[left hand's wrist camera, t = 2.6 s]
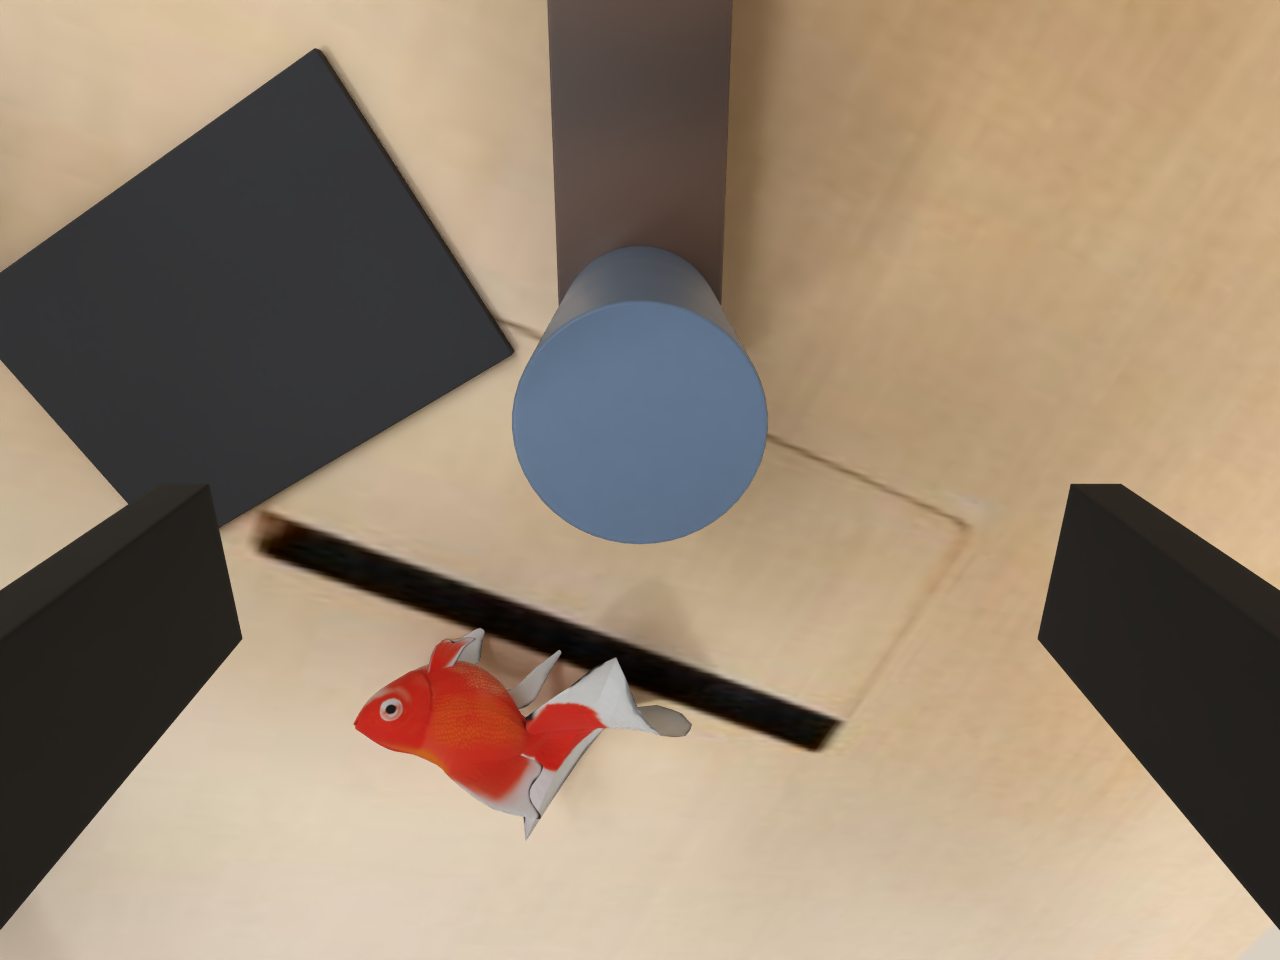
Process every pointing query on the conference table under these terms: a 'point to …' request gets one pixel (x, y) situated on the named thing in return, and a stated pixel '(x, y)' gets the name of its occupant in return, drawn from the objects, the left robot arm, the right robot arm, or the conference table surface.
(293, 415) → the mat
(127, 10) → the conference table surface
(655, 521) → the slate blue cylinder
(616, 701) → the fish
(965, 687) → the conference table surface
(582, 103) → the brown rectangular block
